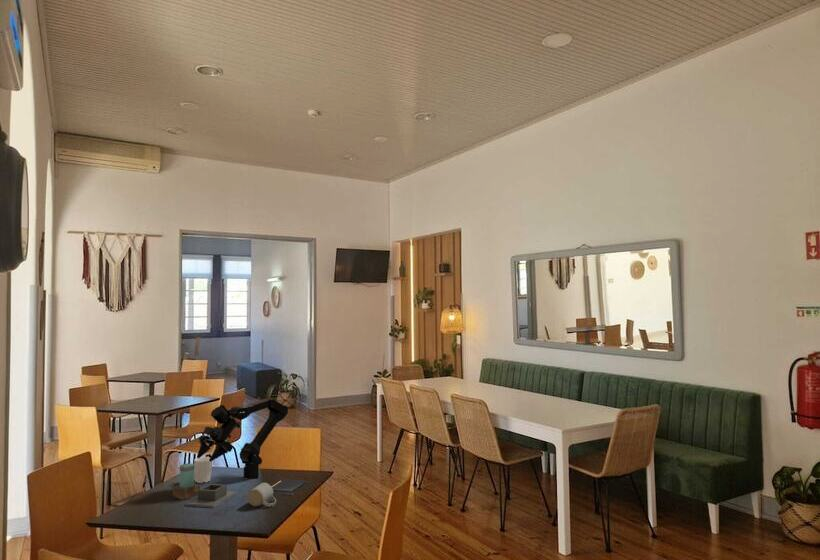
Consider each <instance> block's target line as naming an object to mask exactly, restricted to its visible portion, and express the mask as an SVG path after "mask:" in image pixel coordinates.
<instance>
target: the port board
mask: <svg viewBox="0 0 820 560" xmlns="http://www.w3.org/2000/svg"><path fill="white" fill-rule="evenodd" d="M236 495H237V490H236V491H233V490H228V486H227V484H219V483H218V484H216V483H208V484H207V485H205V486H203V487H202V488H201V487H200V489H199V490H198V495H197V497H196V498H194V499H192V500H190V501H188V502H186V507H195V508H198V507H199V508H209V509H210V508H211V509H213V508H216V507H217V506H219V505H221V504H222V503H225V502H226V501H227V500H229V499H231V498H232V497H234V496H236Z"/></svg>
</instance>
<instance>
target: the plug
mask: <svg viewBox="0 0 820 560" xmlns="http://www.w3.org/2000/svg"><path fill="white" fill-rule="evenodd" d="M194 484H195V471H194V463H192V462H191V463H190V462H188V463H184V464H180V465H179V485H180V488H182V489H185V488H189V487H192V486H194Z"/></svg>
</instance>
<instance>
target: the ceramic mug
mask: <svg viewBox="0 0 820 560" xmlns="http://www.w3.org/2000/svg"><path fill="white" fill-rule="evenodd" d="M247 500H248V503H249V505H251V507H254V508H255V507H257V508H258V507H261V506H265V507H269V508H272V507H274V506H275V505H276V503H277V499H276V498H275V496H274V494H273V489H272V485H270V483H267V482H262V483H260V484H258V485H257V486H255V487H254V488H252V489H251V490H250V491H249V492H248V495H247ZM270 501H272V503H270ZM271 506H272V507H271Z"/></svg>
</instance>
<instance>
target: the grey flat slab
mask: <svg viewBox="0 0 820 560" xmlns="http://www.w3.org/2000/svg"><path fill="white" fill-rule="evenodd" d="M281 480H282V481H281ZM281 480H280V481H278V482H277V483H275V484H273V485H271V487H272V489H273V493H276V494H292V495H291V496H294V495H295V494H294V493H293V492H295V491H296V490H297V489H299V488H300V487H302V486H303V485H304V484H305V485H306V483H309V482H310V481H308V480H303V479H302V480H301V479H288V478H287V479H286V478H284V479H281ZM309 484H310V483H309ZM306 486H307V485H306ZM276 494H275V495H276ZM293 494H294V495H293Z"/></svg>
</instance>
